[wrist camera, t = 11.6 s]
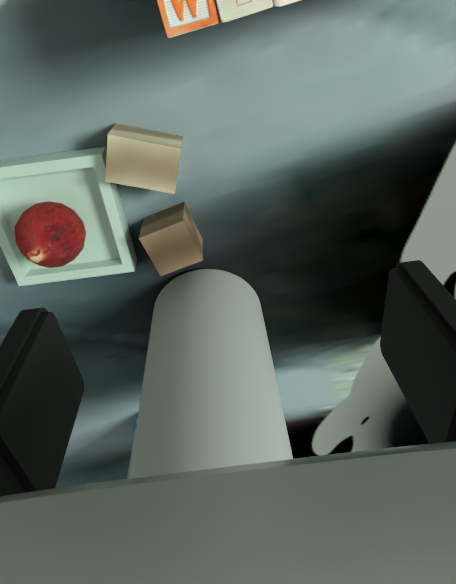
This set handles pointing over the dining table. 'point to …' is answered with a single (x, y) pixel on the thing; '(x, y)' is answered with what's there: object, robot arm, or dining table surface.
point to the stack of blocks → (208, 12)
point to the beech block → (142, 158)
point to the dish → (76, 195)
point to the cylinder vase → (208, 380)
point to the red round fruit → (50, 234)
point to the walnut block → (171, 239)
